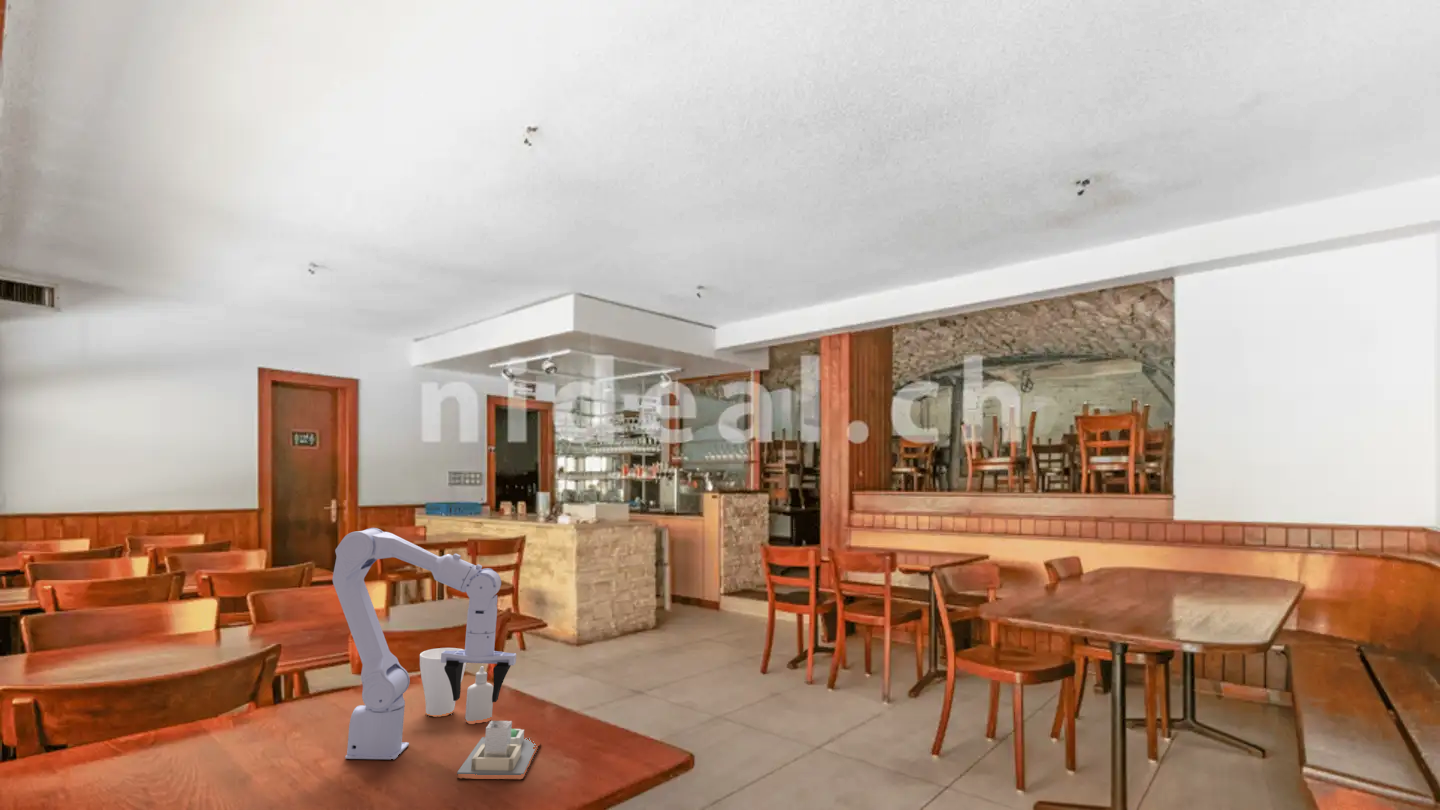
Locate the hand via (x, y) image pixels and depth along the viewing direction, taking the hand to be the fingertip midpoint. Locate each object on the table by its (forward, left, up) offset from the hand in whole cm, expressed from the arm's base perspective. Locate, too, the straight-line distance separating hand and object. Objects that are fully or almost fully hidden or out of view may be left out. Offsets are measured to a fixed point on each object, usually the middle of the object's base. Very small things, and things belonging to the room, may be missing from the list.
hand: (475, 700), depth 150 cm
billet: (+7, -8, -9) cm, 14 cm away
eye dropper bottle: (-3, +18, -11) cm, 21 cm away
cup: (-13, +23, -11) cm, 29 cm away
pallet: (+7, -4, -10) cm, 13 cm away
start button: (+7, +1, -9) cm, 11 cm away
